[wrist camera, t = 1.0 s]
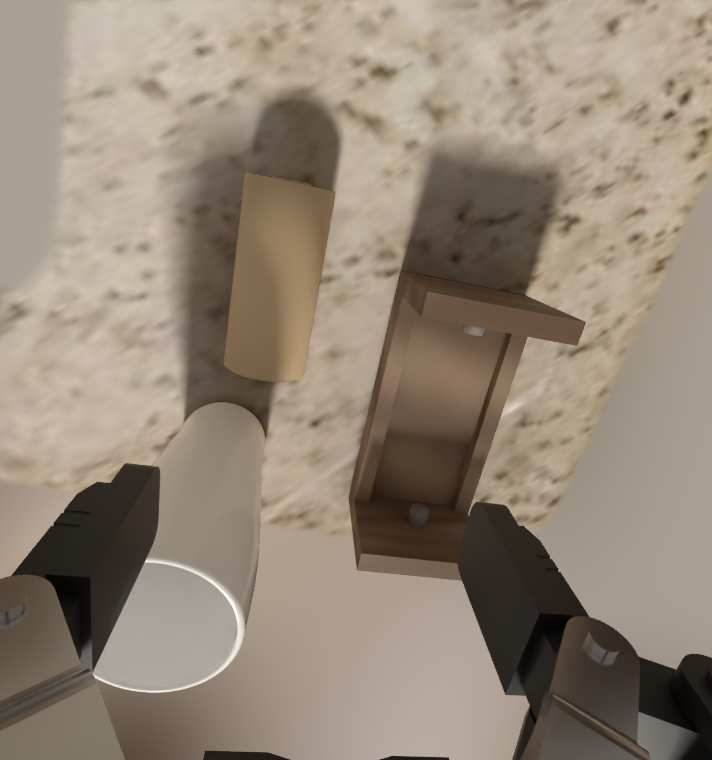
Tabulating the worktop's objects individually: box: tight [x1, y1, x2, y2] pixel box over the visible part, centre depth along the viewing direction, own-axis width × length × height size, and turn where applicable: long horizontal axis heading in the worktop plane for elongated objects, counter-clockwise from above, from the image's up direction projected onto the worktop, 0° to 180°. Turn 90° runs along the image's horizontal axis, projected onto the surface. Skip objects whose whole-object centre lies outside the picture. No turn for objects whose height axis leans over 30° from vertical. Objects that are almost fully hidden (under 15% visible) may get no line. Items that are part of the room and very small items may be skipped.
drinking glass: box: [93, 402, 265, 692], centre depth 24 cm, size 7×7×15 cm
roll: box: [224, 173, 335, 382], centre depth 25 cm, size 10×5×5 cm, turn 169°
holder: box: [349, 271, 586, 581], centre depth 28 cm, size 16×8×7 cm, turn 169°
